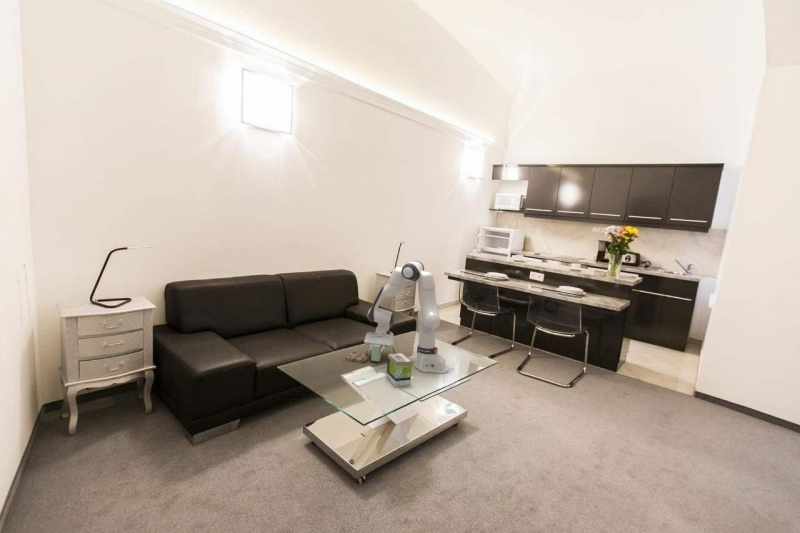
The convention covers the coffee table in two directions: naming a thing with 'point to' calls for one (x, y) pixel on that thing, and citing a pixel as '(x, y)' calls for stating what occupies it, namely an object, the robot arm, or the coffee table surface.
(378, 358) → the sage post
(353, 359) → the walnut peg plate
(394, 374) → the tea box
